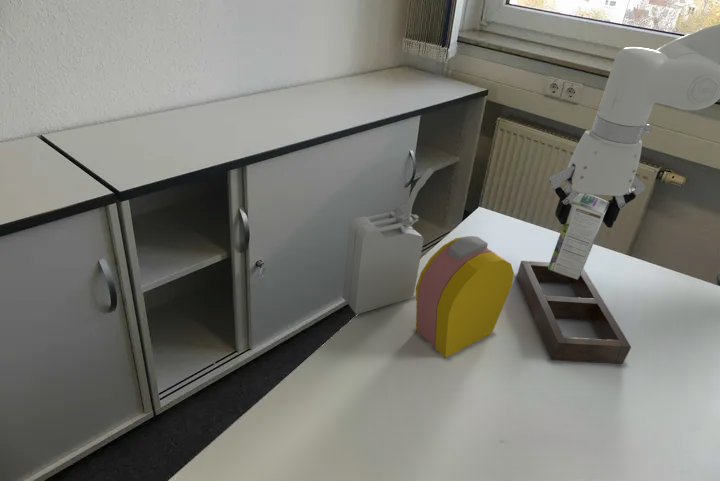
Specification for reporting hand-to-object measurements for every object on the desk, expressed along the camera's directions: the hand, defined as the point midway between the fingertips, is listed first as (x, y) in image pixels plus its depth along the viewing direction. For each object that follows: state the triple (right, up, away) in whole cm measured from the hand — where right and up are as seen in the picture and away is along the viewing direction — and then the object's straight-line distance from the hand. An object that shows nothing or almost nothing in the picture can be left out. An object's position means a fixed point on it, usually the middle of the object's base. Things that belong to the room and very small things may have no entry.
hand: (583, 221), depth 97 cm
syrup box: (-1, -9, +6) cm, 11 cm away
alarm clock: (-24, -19, -1) cm, 31 cm away
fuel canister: (-36, -14, +5) cm, 39 cm away
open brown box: (-2, -18, +5) cm, 18 cm away
